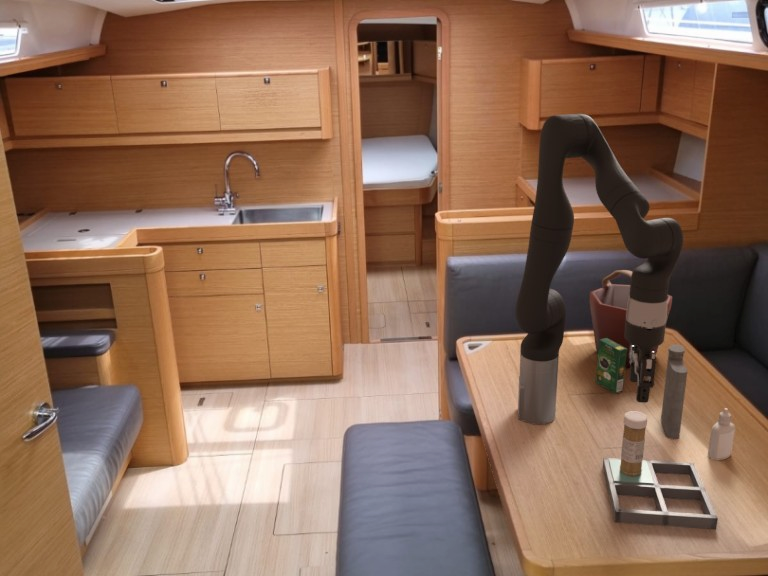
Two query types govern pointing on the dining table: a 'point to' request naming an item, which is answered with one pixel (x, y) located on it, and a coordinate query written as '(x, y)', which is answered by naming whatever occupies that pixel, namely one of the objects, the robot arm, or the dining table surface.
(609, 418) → the dining table surface
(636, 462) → the sprinkles bottle
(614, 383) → the coffee box
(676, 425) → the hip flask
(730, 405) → the dining table surface
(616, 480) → the organizer
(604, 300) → the bucket
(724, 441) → the eye dropper bottle
